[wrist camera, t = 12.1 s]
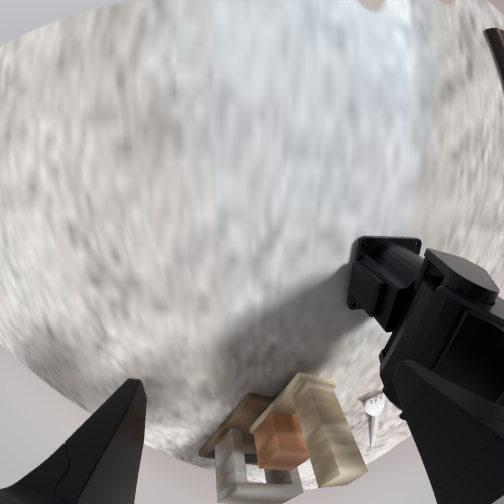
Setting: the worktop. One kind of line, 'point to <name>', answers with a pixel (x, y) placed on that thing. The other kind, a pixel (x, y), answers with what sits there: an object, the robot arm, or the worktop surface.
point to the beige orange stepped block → (308, 433)
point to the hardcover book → (497, 45)
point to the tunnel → (246, 460)
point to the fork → (374, 413)
